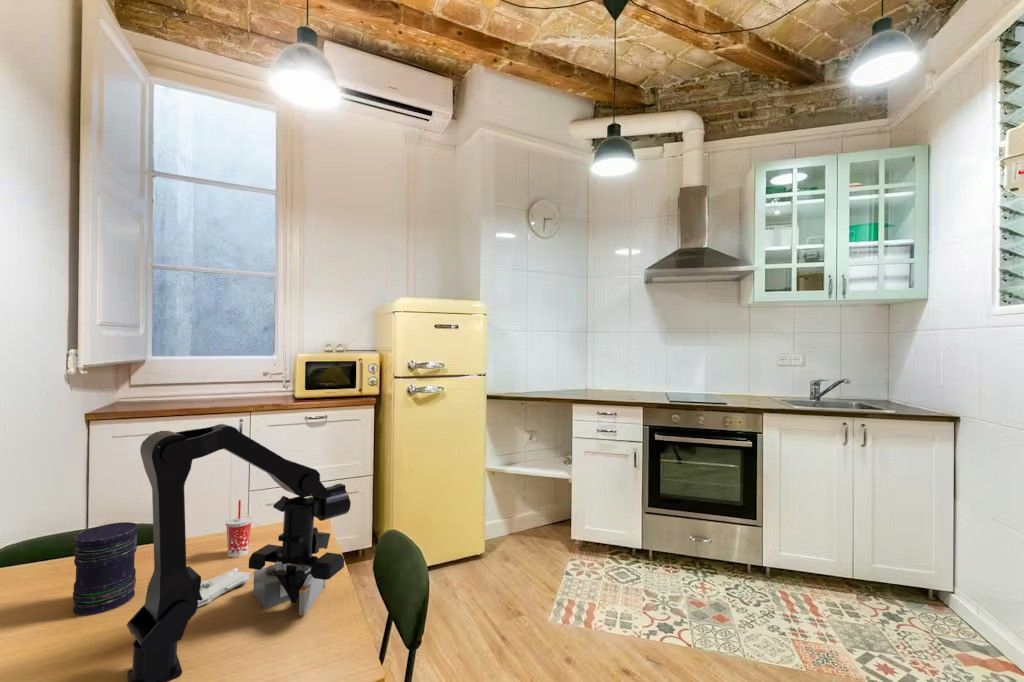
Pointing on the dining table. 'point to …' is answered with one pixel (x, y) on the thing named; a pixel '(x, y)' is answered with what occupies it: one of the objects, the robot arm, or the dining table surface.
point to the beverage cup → (238, 534)
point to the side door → (310, 594)
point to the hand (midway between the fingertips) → (294, 602)
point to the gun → (221, 585)
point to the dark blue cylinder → (104, 568)
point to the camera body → (270, 587)
